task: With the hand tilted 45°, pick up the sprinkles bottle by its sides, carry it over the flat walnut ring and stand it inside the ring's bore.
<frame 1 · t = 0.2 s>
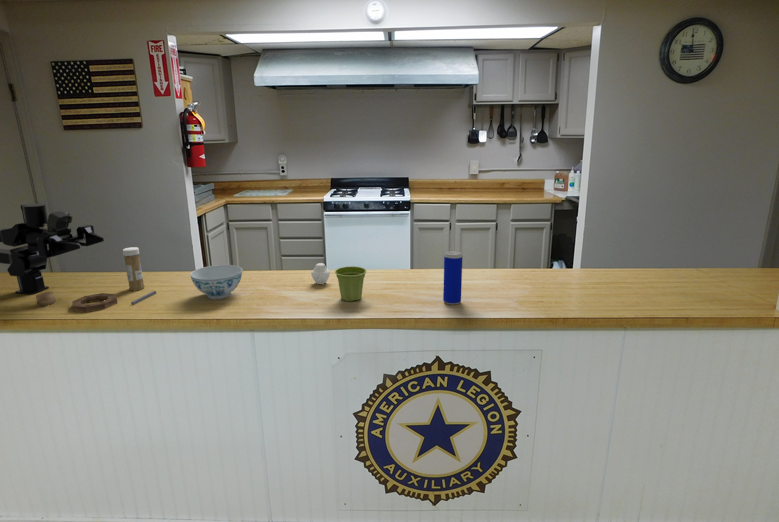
hand: (91, 243, 144), 17 cm above the worktop, tool horizontal, fingers open, 9 cm apart
small wooden bead: (46, 304, 142), on the worktop
chinaware: (219, 296, 148), on the worktop
plant pot: (351, 298, 144), on the worktop
walnut ring: (95, 304, 141), on the worktop
white owl figurine: (321, 283, 158), on the worktop
beverage can: (452, 302, 140), on the worktop
sprinkles bottle: (137, 289, 154), on the worktop
grey rectangular bar: (144, 298, 145), on the worktop
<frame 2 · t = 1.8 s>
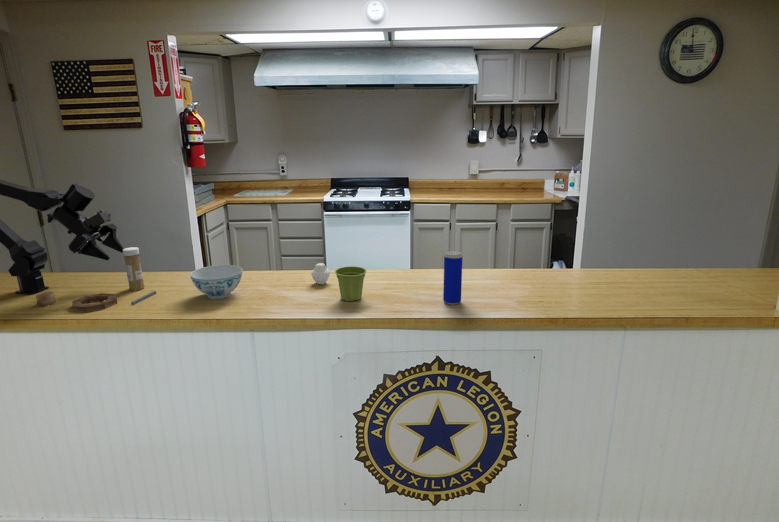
hand: (116, 255, 151), 11 cm above the worktop, tool tilted 45°, fingers open, 9 cm apart
nothing on the worktop moved.
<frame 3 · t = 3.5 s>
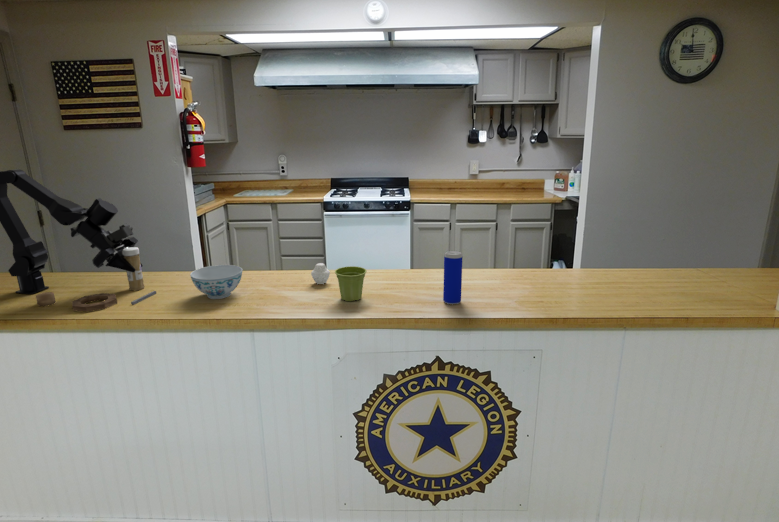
hand: (138, 269, 153), 7 cm above the worktop, tool tilted 45°, fingers closed on sprinkles bottle, 4 cm apart
sprinkles bottle: (137, 289, 154), on the worktop, touching gripper
everything else where it was.
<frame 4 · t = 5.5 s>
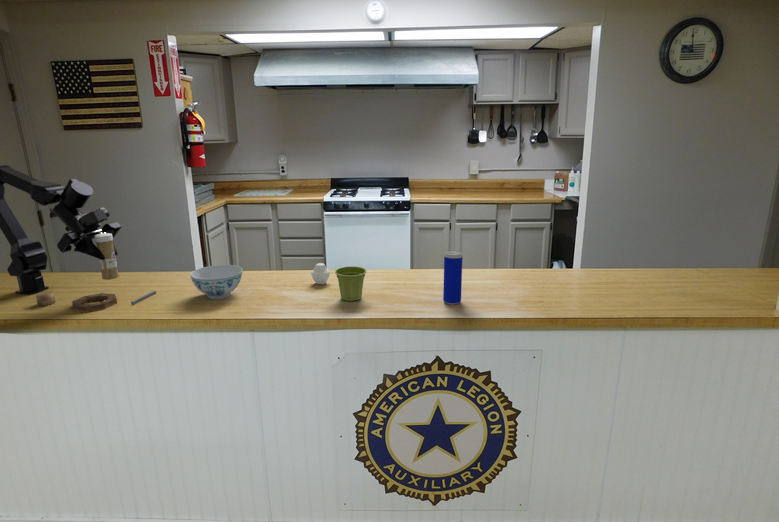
hand: (110, 257, 142), 13 cm above the worktop, tool tilted 45°, fingers closed on sprinkles bottle, 4 cm apart
sprinkles bottle: (110, 278, 144), point 6 cm above the worktop, touching gripper
everything else where it was.
when the fingers open (8 cm above the worktop, at t = 7.4 s): sprinkles bottle drops 1 cm, resting in walnut ring.
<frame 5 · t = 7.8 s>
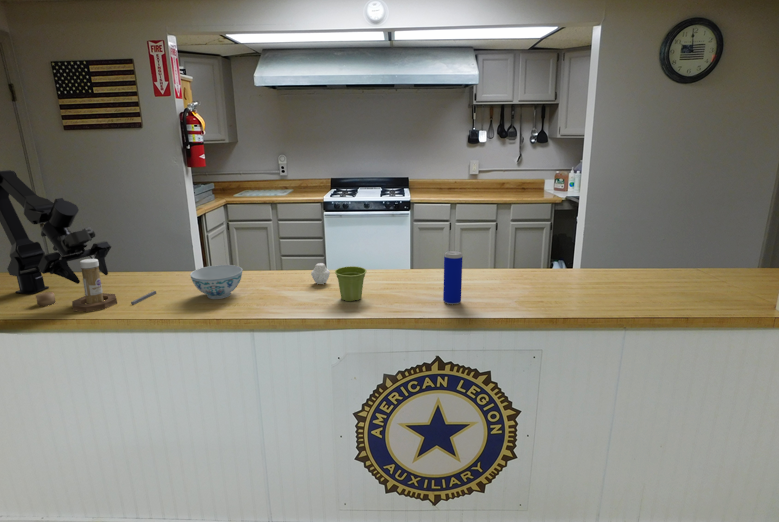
hand: (93, 278, 138), 8 cm above the worktop, tool tilted 45°, fingers open, 8 cm apart
sprinkles bottle: (95, 304, 141), resting in walnut ring
everything else where it was.
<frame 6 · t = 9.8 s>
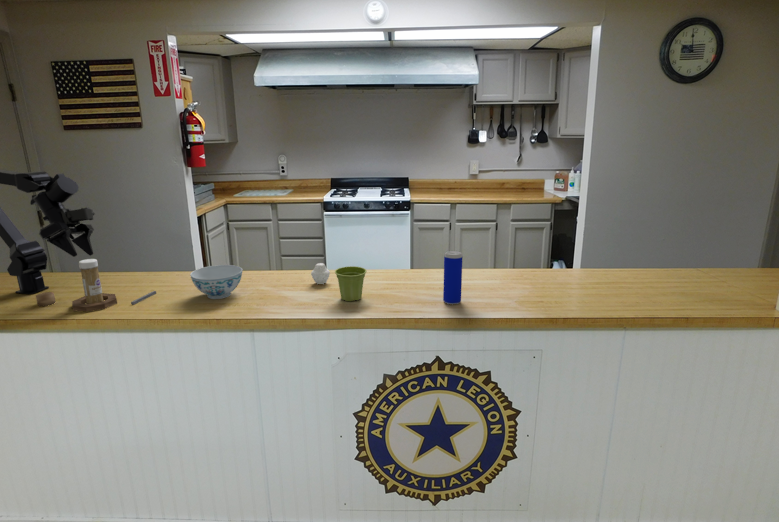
hand: (84, 255, 143), 13 cm above the worktop, tool tilted 30°, fingers open, 9 cm apart
nothing on the worktop moved.
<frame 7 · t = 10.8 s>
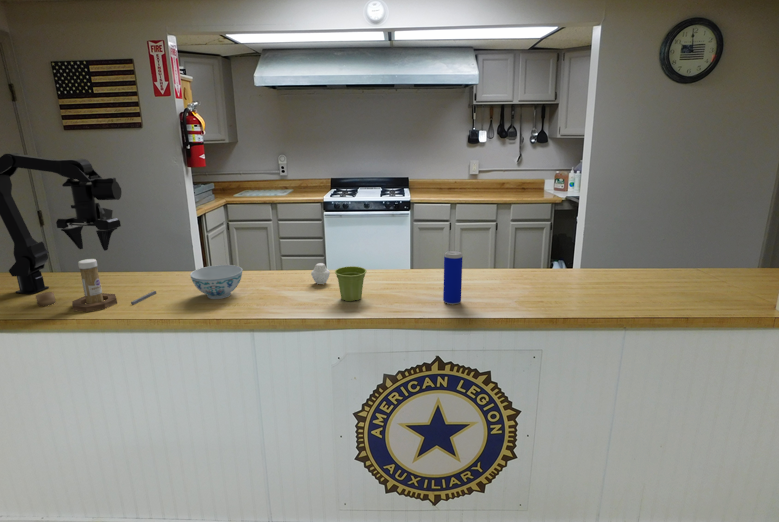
hand: (93, 249, 151), 13 cm above the worktop, tool pointing down, fingers open, 9 cm apart
nothing on the worktop moved.
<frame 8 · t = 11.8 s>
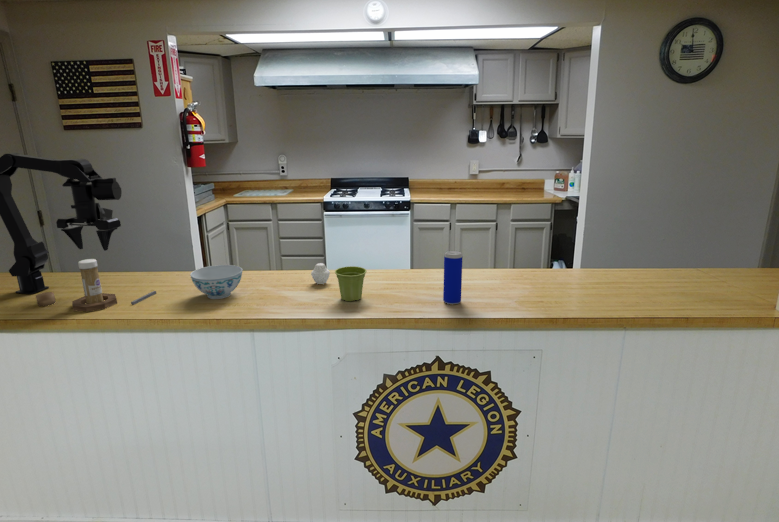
hand: (93, 249, 151), 13 cm above the worktop, tool pointing down, fingers open, 9 cm apart
nothing on the worktop moved.
at the end: sprinkles bottle 0.3 cm from the walnut ring (horizontally); sprinkles bottle tilted 0°; sprinkles bottle resting in walnut ring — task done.
